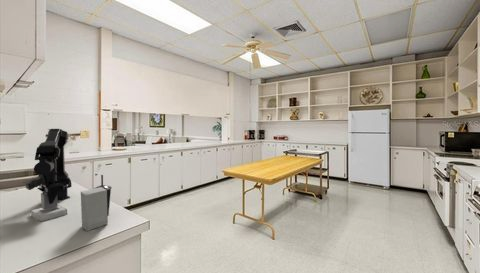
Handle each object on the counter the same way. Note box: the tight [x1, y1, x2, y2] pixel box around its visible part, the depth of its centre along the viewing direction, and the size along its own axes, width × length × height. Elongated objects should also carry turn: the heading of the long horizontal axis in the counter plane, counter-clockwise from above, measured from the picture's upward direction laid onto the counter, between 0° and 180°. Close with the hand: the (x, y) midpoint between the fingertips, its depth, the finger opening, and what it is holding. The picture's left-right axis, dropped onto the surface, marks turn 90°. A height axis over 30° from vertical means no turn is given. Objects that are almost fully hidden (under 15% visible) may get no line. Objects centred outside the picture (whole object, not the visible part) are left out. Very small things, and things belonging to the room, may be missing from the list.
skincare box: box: [80, 187, 109, 232], centre depth 93 cm, size 8×7×16 cm
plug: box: [40, 192, 59, 210], centre depth 104 cm, size 4×5×7 cm
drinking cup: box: [92, 174, 112, 216], centre depth 103 cm, size 8×8×20 cm
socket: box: [30, 204, 68, 222], centre depth 104 cm, size 12×10×3 cm
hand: (49, 202), depth 104 cm, fingers closed on plug, 4 cm apart
